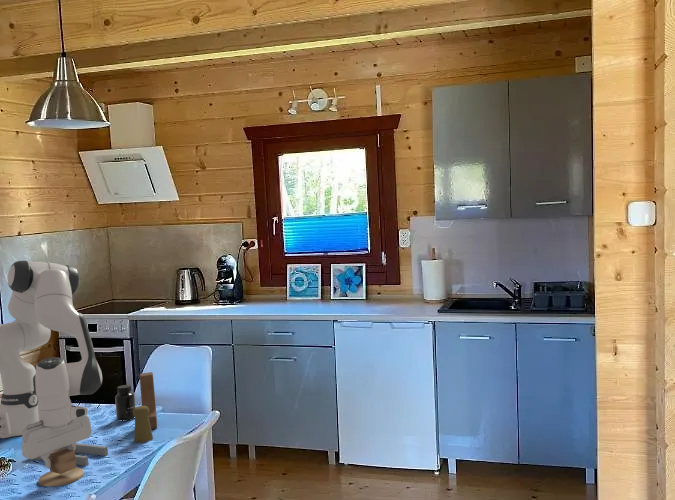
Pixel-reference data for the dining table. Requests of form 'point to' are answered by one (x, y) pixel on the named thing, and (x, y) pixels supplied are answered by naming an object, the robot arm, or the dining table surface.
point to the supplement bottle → (124, 403)
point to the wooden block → (148, 397)
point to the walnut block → (63, 460)
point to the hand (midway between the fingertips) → (60, 463)
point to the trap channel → (86, 450)
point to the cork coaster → (61, 477)
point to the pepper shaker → (142, 425)
